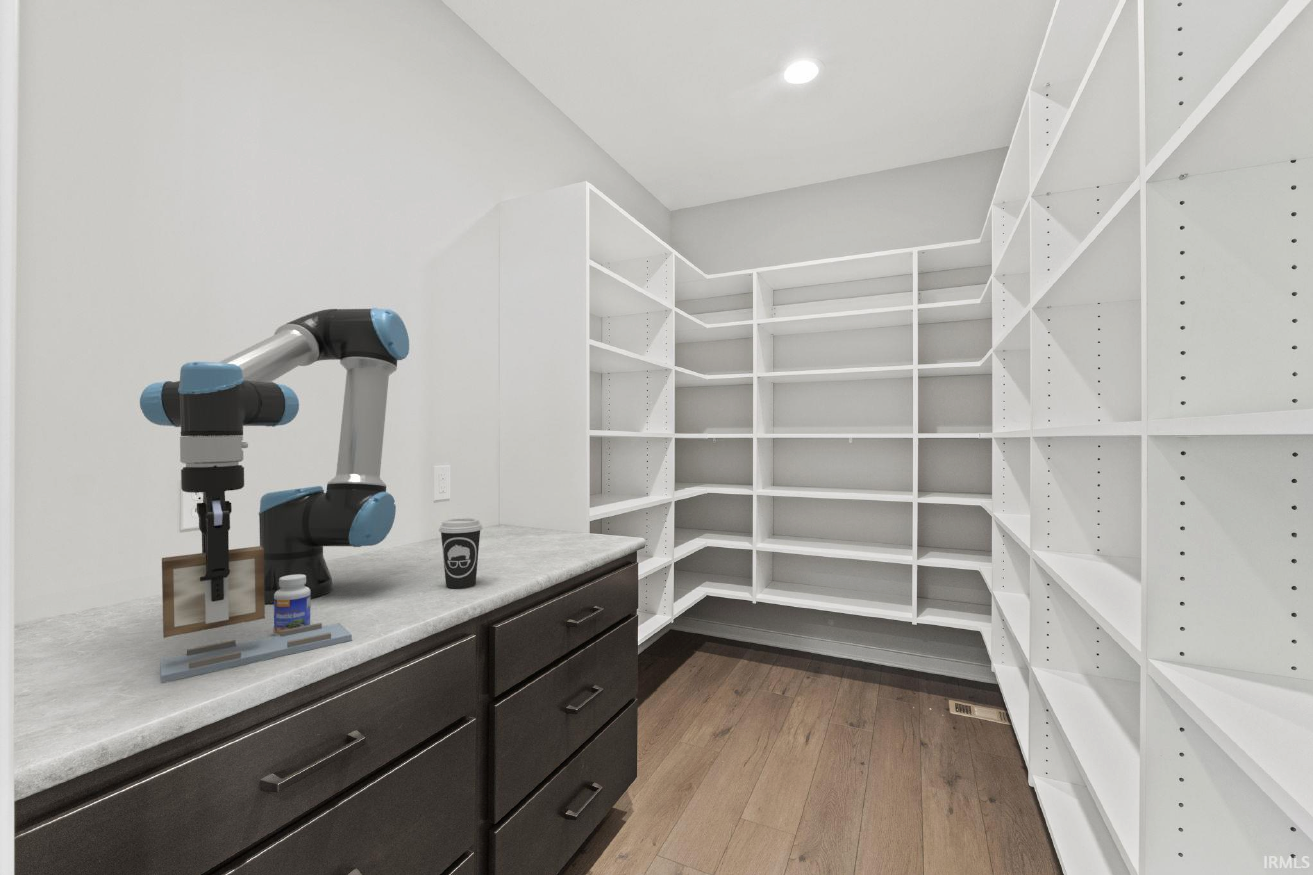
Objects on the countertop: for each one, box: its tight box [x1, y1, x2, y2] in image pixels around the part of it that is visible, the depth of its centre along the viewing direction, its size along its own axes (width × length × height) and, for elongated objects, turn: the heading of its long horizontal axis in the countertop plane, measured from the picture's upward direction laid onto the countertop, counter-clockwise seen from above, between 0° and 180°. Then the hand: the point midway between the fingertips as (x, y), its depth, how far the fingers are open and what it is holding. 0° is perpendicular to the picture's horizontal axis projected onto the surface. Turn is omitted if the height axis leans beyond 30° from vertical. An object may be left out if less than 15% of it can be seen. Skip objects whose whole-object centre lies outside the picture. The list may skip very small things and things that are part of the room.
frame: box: [161, 545, 266, 639], centre depth 85 cm, size 12×3×11 cm, turn 132°
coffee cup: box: [438, 517, 483, 590], centre depth 129 cm, size 10×10×15 cm
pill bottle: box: [273, 574, 312, 636], centre depth 98 cm, size 5×5×10 cm
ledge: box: [159, 622, 353, 684], centre depth 89 cm, size 8×24×2 cm, turn 132°
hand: (216, 617), depth 85 cm, fingers closed on frame, 3 cm apart
